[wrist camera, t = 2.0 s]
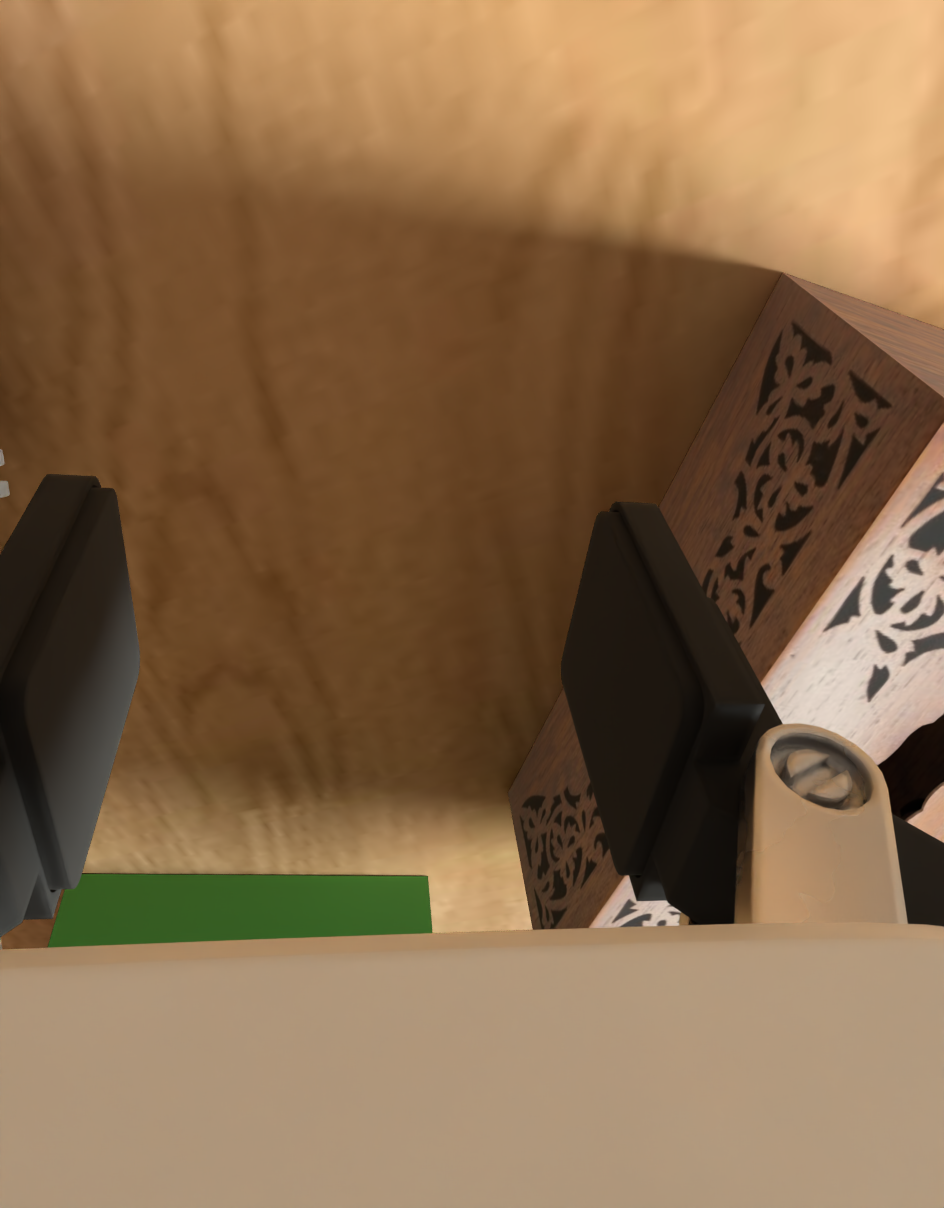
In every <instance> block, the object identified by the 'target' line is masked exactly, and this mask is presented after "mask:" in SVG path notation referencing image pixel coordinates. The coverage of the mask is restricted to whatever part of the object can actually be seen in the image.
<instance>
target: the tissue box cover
mask: <svg viewBox="0 0 944 1208" xmlns="http://www.w3.org/2000/svg"><path fill="white" fill-rule="evenodd" d="M659 509H660V511H661V513H662V514H663V516H664V518H665V520H666V522H667V524H668V526H669V527H670V529H671V531H672V533H673V535H674V537H675V539H676V540H677V542H678V544H679V546H680V548H681V550H682V551H683V553H684V555H685V557H686V559H687V561H688V563H689V564H690V566H691V568H692V570H693V572H694V574H695V575H696V577H697V579H698V581H699V583H700V585H701V587H702V588H703V590H704V592H705V594H706V596H707V597H709V598H711V599H713V600H714V602H715V603H716V604H717V605H718V607H719V609H720V610H721V612H722V614H723V616H724V618H725V620H726V621H727V623H728V625H729V627H730V629H731V630H732V632H733V634H734V636H735V638H736V640H737V641H738V643H739V645H740V647H741V649H742V650H743V652H744V654H745V656H746V658H747V659H748V661H749V663H750V665H751V667H752V669H753V670H754V672H755V674H756V676H757V678H758V679H759V681H760V683H761V685H762V687H763V689H764V690H765V692H766V694H767V696H768V698H769V699H770V701H771V703H772V705H773V707H774V709H775V710H776V712H777V714H778V716H779V718H780V719H781V721H782V723H783V724H794V723H801V724H807V725H813V726H819V727H821V728H824V729H827V730H829V731H832V732H834V733H837V734H839V735H841V736H842V737H844V738H846V739H848V740H849V741H851V742H853V743H854V744H856V745H857V746H858V747H859V748H861V749H862V750H863V751H864V752H865V753H866V754H867V755H869V756H870V757H871V758H872V759H873V761H874V762H875V764H876V765H877V766H878V768H879V769H880V770H881V772H882V773H883V776H884V779H885V782H886V785H887V787H888V793H889V800H890V806H891V813H892V814H894V815H895V816H897V817H899V818H901V819H902V820H904V821H906V822H908V823H910V824H911V825H913V826H915V827H917V828H918V829H920V830H922V831H924V832H926V833H927V834H929V835H931V836H933V837H934V838H936V839H938V840H940V841H942V842H943V843H944V329H941V328H938V327H935V326H932V325H930V324H927V323H924V322H921V321H918V320H915V319H913V318H910V317H907V316H904V315H901V314H898V313H896V312H893V311H890V310H887V309H884V308H881V307H879V306H876V305H873V304H870V303H867V302H864V301H862V300H859V299H856V298H853V297H850V296H847V295H845V294H842V293H839V292H836V291H833V290H831V289H828V288H825V287H822V286H819V285H816V284H814V283H811V282H808V281H805V280H802V279H799V278H797V277H794V276H791V275H788V274H785V273H782V275H781V276H780V278H779V280H778V282H777V284H776V286H775V288H774V290H773V292H772V293H771V295H770V297H769V299H768V301H767V303H766V305H765V307H764V309H763V311H762V312H761V314H760V316H759V318H758V320H757V322H756V324H755V326H754V328H753V329H752V331H751V333H750V335H749V337H748V339H747V341H746V343H745V345H744V347H743V348H742V350H741V352H740V354H739V356H738V358H737V360H736V362H735V364H734V365H733V367H732V369H731V371H730V373H729V375H728V377H727V379H726V381H725V383H724V384H723V386H722V388H721V390H720V392H719V394H718V396H717V398H716V400H715V401H714V403H713V405H712V407H711V409H710V411H709V413H708V415H707V417H706V419H705V420H704V422H703V424H702V426H701V428H700V430H699V432H698V434H697V436H696V437H695V439H694V441H693V443H692V445H691V447H690V449H689V451H688V453H687V455H686V456H685V458H684V460H683V462H682V464H681V466H680V468H679V470H678V472H677V473H676V475H675V477H674V479H673V481H672V483H671V485H670V487H669V489H668V491H667V492H666V494H665V496H664V498H663V500H662V502H661V504H660V506H659ZM508 797H509V802H510V808H511V813H512V819H513V824H514V830H515V835H516V841H517V846H518V852H519V857H520V862H521V868H522V873H523V879H524V884H525V890H526V895H527V901H528V906H529V911H530V917H531V922H532V928H533V930H544V929H578V928H612V927H647V926H679V920H680V914H681V912H680V911H679V910H677V909H676V908H674V907H673V906H672V905H670V904H669V903H668V902H667V901H636V898H635V894H634V891H633V888H632V884H631V881H630V877H629V875H627V876H621V875H619V874H618V873H617V871H616V869H615V866H614V863H613V860H612V856H611V853H610V849H609V846H608V842H607V839H606V835H605V832H604V828H603V825H602V821H601V818H600V814H599V811H598V807H597V804H596V800H595V797H594V793H593V790H592V786H591V783H590V779H589V776H588V772H587V769H586V765H585V761H584V758H583V754H582V751H581V747H580V744H579V740H578V737H577V733H576V730H575V726H574V723H573V719H572V716H571V712H570V709H569V705H568V702H567V698H566V695H565V691H564V688H563V689H562V691H561V693H560V695H559V697H558V699H557V701H556V703H555V705H554V707H553V708H552V710H551V712H550V714H549V716H548V718H547V720H546V722H545V724H544V725H543V727H542V729H541V731H540V733H539V735H538V737H537V739H536V741H535V743H534V744H533V746H532V748H531V750H530V752H529V754H528V756H527V758H526V760H525V761H524V763H523V765H522V767H521V769H520V771H519V773H518V775H517V777H516V779H515V780H514V782H513V784H512V786H511V788H510V790H509V792H508Z"/></svg>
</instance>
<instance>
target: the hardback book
mask: <svg viewBox="0 0 944 1208" xmlns="http://www.w3.org/2000/svg"><path fill="white" fill-rule="evenodd" d="M423 933H432V921H431V909H430V897H429V885H428V876H314V875H170V874H82V875H81V878H80V881H79V883H78V885H77V887H76V888H74V889H65V891H64V894H63V897H62V901H61V904H60V907H59V911H58V914H57V917H56V921H55V924H54V927H53V931H52V934H51V937H50V941H49V944H48V947H47V948H51V947H76V946H101V945H126V944H152V943H177V942H202V941H227V940H253V939H281V938H309V937H337V936H366V935H394V934H423Z"/></svg>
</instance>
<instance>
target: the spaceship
mask: <svg viewBox="0 0 944 1208" xmlns="http://www.w3.org/2000/svg"><path fill="white" fill-rule="evenodd" d="M4 464H5V463H4V457H3V451H2V450H1V449H0V466H2V465H4ZM8 495H10V492H9V486H8V481H0V498H2V497H6V496H8Z"/></svg>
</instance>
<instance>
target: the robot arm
mask: <svg viewBox="0 0 944 1208" xmlns="http://www.w3.org/2000/svg"><path fill="white" fill-rule="evenodd" d="M139 668H140V650H139V642H138V635H137V629H136V622H135V615H134V608H133V601H132V595H131V588H130V581H129V574H128V567H127V561H126V554H125V547H124V540H123V533H122V527H121V520H120V513H119V506H118V500H117V495H116V492H115V490H114V489H113V488H101V485H100V482H99V480H98V478H97V477H96V476H80V475H59V474H47V475H46V476H45V477H44V478H43V480H42V482H41V484H40V485H39V487H38V489H37V491H36V492H35V494H34V496H33V498H32V500H31V501H30V503H29V505H28V507H27V508H26V510H25V512H24V514H23V515H22V517H21V519H20V521H19V522H18V524H17V526H16V528H15V529H14V531H13V533H12V535H11V537H10V538H9V540H8V542H7V544H6V545H5V547H4V549H3V551H2V552H1V554H0V937H1V936H3V935H4V934H6V933H7V932H9V931H10V930H12V929H13V928H15V927H16V926H18V925H19V924H21V923H22V921H23V920H28V919H53V916H54V913H55V909H56V906H57V903H58V899H59V896H60V893H61V890H62V889H74V888H76V887H77V885H78V883H79V881H80V878H81V875H82V871H83V868H84V864H85V861H86V857H87V854H88V850H89V847H90V843H91V840H92V836H93V833H94V829H95V826H96V822H97V819H98V815H99V812H100V808H101V805H102V801H103V798H104V794H105V791H106V788H107V784H108V781H109V777H110V774H111V770H112V767H113V763H114V760H115V756H116V753H117V749H118V746H119V742H120V739H121V735H122V732H123V728H124V725H125V721H126V718H127V714H128V711H129V707H130V704H131V700H132V697H133V693H134V690H135V686H136V683H137V679H138V675H139ZM561 679H562V684H563V688H564V691H565V695H566V698H567V702H568V705H569V709H570V712H571V716H572V719H573V723H574V726H575V730H576V733H577V737H578V740H579V744H580V747H581V751H582V754H583V758H584V761H585V765H586V769H587V772H588V776H589V779H590V783H591V786H592V790H593V793H594V797H595V800H596V804H597V807H598V811H599V814H600V818H601V821H602V825H603V828H604V832H605V835H606V839H607V842H608V846H609V849H610V853H611V856H612V860H613V863H614V866H615V869H616V871H617V873H618V874H619V875H621V876H627V875H629V877H630V881H631V884H632V888H633V891H634V894H635V898H636V901H667V902H668V903H669V904H670V905H672V906H673V907H674V908H676V909H677V910H679V911H680V912H681V914H680V920H679V926H647V927H612V928H578V929H544V930H512V931H483V932H453V933H423V934H394V935H366V936H337V937H309V938H281V939H253V940H227V941H202V942H177V943H152V944H126V945H101V946H76V947H51V948H26V949H2V943H1V938H0V1208H944V843H943V842H942V841H940V840H938V839H936V838H934V837H933V836H931V835H929V834H927V833H926V832H924V831H922V830H920V829H918V828H917V827H915V826H913V825H911V824H910V823H908V822H906V821H904V820H902V819H901V818H899V817H897V816H895V815H894V814H892V813H891V806H890V800H889V793H888V787H887V785H886V782H885V779H884V776H883V773H882V772H881V770H880V769H879V768H878V766H877V765H876V764H875V762H874V761H873V759H872V758H871V757H870V756H869V755H867V754H866V753H865V752H864V751H863V750H862V749H861V748H859V747H858V746H857V745H856V744H854V743H853V742H851V741H849V740H848V739H846V738H844V737H842V736H841V735H839V734H837V733H834V732H832V731H829V730H827V729H824V728H821V727H819V726H813V725H807V724H801V723H794V724H783V723H782V721H781V719H780V718H779V716H778V714H777V712H776V710H775V709H774V707H773V705H772V703H771V701H770V699H769V698H768V696H767V694H766V692H765V690H764V689H763V687H762V685H761V683H760V681H759V679H758V678H757V676H756V674H755V672H754V670H753V669H752V667H751V665H750V663H749V661H748V659H747V658H746V656H745V654H744V652H743V650H742V649H741V647H740V645H739V643H738V641H737V640H736V638H735V636H734V634H733V632H732V630H731V629H730V627H729V625H728V623H727V621H726V620H725V618H724V616H723V614H722V612H721V610H720V609H719V607H718V605H717V604H716V603H715V602H714V600H713V599H711V598H709V597H707V596H706V594H705V592H704V590H703V588H702V587H701V585H700V583H699V581H698V579H697V577H696V575H695V574H694V572H693V570H692V568H691V566H690V564H689V563H688V561H687V559H686V557H685V555H684V553H683V551H682V550H681V548H680V546H679V544H678V542H677V540H676V539H675V537H674V535H673V533H672V531H671V529H670V527H669V526H668V524H667V522H666V520H665V518H664V516H663V514H662V513H661V511H660V509H659V507H658V506H657V505H656V504H653V503H633V502H615V503H613V504H612V506H611V508H610V510H609V512H604V511H601V512H599V513H598V515H597V517H596V520H595V523H594V528H593V532H592V536H591V540H590V544H589V548H588V552H587V557H586V561H585V565H584V569H583V573H582V577H581V581H580V585H579V590H578V594H577V598H576V602H575V606H574V610H573V614H572V618H571V623H570V627H569V631H568V635H567V639H566V643H565V647H564V651H563V656H562V661H561Z"/></svg>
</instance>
